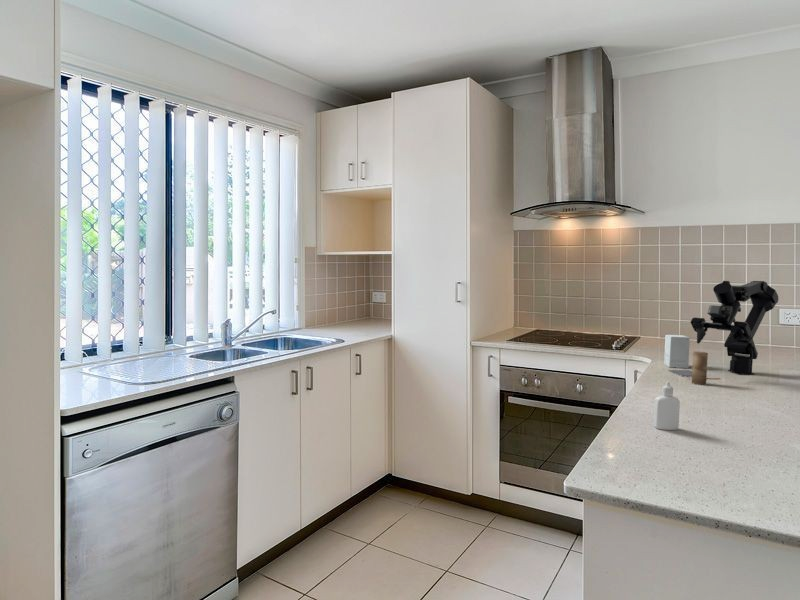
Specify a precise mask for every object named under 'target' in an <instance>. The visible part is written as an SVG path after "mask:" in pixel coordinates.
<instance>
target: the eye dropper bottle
mask: <svg viewBox="0 0 800 600" xmlns="http://www.w3.org/2000/svg"><path fill="white" fill-rule="evenodd" d="M661 394H662V395H659V396H657V397H655V399H654V408H653V409H654V410H653V411H654V412H653V427H655V428H656V429H657V430H662V431H677V430H678V429H679V426H680V424H679V423H680V399H679V398H677V397H675V396H674V387H673V386H672V385H671V382H670V381H666V383H665V385H664V386H663V385H662V392H661Z"/></svg>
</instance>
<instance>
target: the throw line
mask: <svg viewBox="0 0 800 600" xmlns="http://www.w3.org/2000/svg"><path fill="white" fill-rule="evenodd" d="M687 378H692V377H685V379H687ZM707 378H708V379H707V380H721V378H720V377H707Z"/></svg>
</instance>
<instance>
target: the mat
mask: <svg viewBox="0 0 800 600" xmlns="http://www.w3.org/2000/svg"><path fill="white" fill-rule="evenodd" d="M670 371H671V372H670ZM668 372H670V373H672V372H673V373H672V374H675V373H676V374H675V375H677V374H678V375H677V376H680V375H681V376H680V377H682V376H692V370H689V369H681V370H680V369H668Z"/></svg>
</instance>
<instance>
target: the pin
mask: <svg viewBox="0 0 800 600" xmlns="http://www.w3.org/2000/svg"><path fill="white" fill-rule="evenodd" d="M708 355H709V353H708V352H705V351H693V352H692V370H691V371H692V379H691V384H693V383H695V384H694V385H697V384H701V385H700V386H706V385H707V379H706V378H708V375H707V373H708ZM705 384H706V385H705Z"/></svg>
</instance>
